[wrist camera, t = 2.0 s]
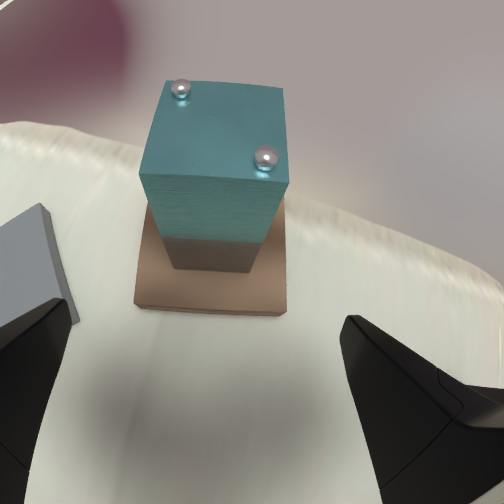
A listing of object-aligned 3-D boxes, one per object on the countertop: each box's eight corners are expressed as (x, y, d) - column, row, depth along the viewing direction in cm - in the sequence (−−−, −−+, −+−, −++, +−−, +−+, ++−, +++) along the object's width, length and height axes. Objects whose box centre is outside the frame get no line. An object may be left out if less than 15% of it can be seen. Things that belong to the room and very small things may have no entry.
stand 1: (80, 320, 19) (68, 316, 17) (-5, 363, 16) (-19, 362, 15) (49, 213, 22) (39, 202, 20) (-26, 260, 19) (-38, 253, 17)
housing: (249, 273, 20) (292, 176, 9) (173, 268, 19) (136, 166, 9) (250, 206, 22) (284, 81, 11) (181, 202, 21) (165, 73, 11)
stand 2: (279, 315, 21) (286, 311, 19) (140, 308, 20) (133, 303, 18) (278, 193, 25) (283, 180, 23) (157, 186, 24) (153, 172, 22)
